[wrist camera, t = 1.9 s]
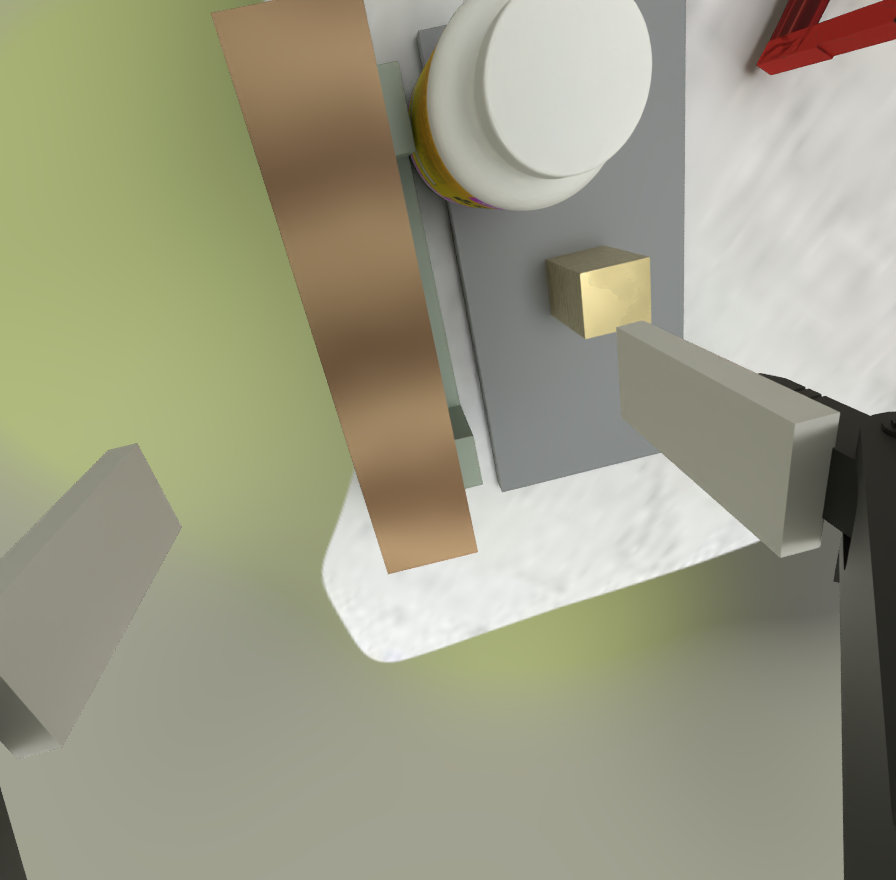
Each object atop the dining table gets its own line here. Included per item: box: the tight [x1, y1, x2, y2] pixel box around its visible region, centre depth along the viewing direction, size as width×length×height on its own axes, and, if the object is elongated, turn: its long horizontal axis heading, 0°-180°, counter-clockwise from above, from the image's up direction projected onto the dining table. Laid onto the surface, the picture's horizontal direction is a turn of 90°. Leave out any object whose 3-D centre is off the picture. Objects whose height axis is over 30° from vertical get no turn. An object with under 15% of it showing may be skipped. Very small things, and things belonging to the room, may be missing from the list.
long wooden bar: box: [211, 0, 478, 574], centre depth 22 cm, size 22×4×4 cm, turn 11°
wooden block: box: [545, 245, 651, 339], centre depth 26 cm, size 3×3×5 cm
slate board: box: [417, 0, 686, 492], centre depth 29 cm, size 24×12×1 cm, turn 11°
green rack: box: [377, 61, 483, 489], centre depth 26 cm, size 19×6×5 cm, turn 11°
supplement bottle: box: [408, 0, 652, 211], centre depth 20 cm, size 7×7×13 cm
